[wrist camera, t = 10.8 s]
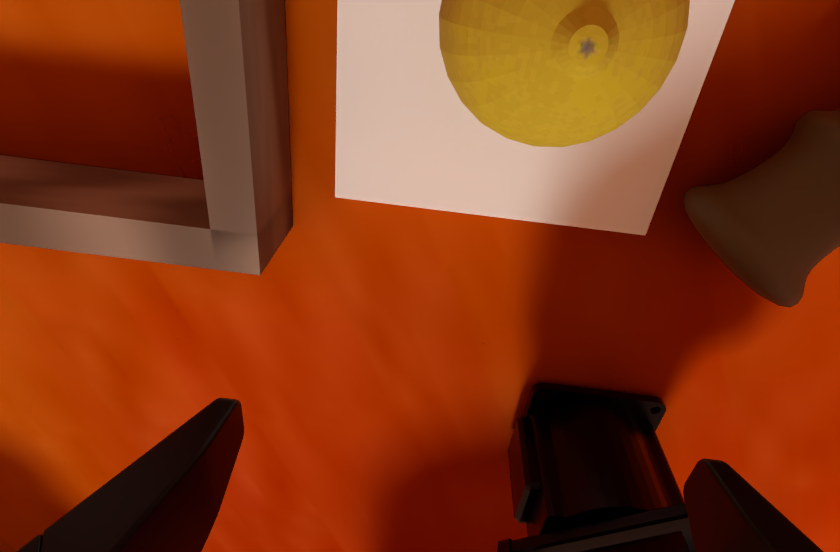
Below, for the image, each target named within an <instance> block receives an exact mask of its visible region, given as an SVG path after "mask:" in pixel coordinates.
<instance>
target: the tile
mask: <svg viewBox="0 0 840 552" xmlns="http://www.w3.org/2000/svg"><path fill="white" fill-rule="evenodd" d="M441 1H442V0H338V5H337V83H336V162H335V197H338V198H346V199H354V200H362V201H370V202H378V203H386V204H394V205H402V206H411V207H419V208H427V209H435V210H443V211H451V212H459V213H467V214H475V215H483V216H492V217H500V218H508V219H516V220H524V221H532V222H540V223H548V224H556V225H564V226H573V227H581V228H589V229H597V230H605V231H613V232H621V233H629V234H637V235H646V233H647V230H648V227H649V225H650V222H651V220H652V217H653V214H654V212H655V209H656V206H657V204H658V201H659V199H660V196H661V193H662V191H663V188H664V185H665V183H666V180H667V178H668V175H669V172H670V170H671V167H672V164H673V162H674V159H675V157H676V154H677V151H678V149H679V146H680V143H681V141H682V138H683V136H684V133H685V130H686V128H687V125H688V122H689V120H690V117H691V115H692V112H693V109H694V107H695V104H696V101H697V99H698V96H699V94H700V91H701V88H702V86H703V83H704V80H705V78H706V75H707V72H708V70H709V67H710V65H711V62H712V59H713V57H714V54H715V51H716V49H717V46H718V44H719V41H720V38H721V36H722V33H723V30H724V28H725V25H726V23H727V20H728V17H729V15H730V12H731V9H732V7H733V4H734V2H735V0H690V5H689V16H688V28H687V31H686V34H685V37H684V40H683V43H682V46H681V49H680V52H679V55H678V58H677V61H676V62H675V64H674V66H673V68H672V69H671V71H670V73H669V74H668V76H667V78H666V80H665V81H664V83H663V85H662V87H661V88H660V89H659V91H658V92H657V93H656V94H655V95H654V96H653V97H652V98H651V100H650V101H649V102H648V103H647V104H646V105H645V106H644V107H643V109H642V110H641V111H640V112H639V113H637V114H636V115H635V116H633V117H632V118H630V119H629V120H628V121H626V122H625V123H624V124H622V125H621V126H620V127H618V128H617V129H616V130H614V131H611V132H609V133H607V134H605V135H603V136H600V137H598V138H596V139H594V140H592V141H590V142H585V143H580V144H576V145H571V146H566V147H540V146H531V145H527V144H524V143H521V142H517V141H514V140H510V139H507V138H505V137H503V136H502V135H500V134H498V133H497V132H495V131H493V130H492V129H490V128H488V127H487V126H485V125H483V124H482V123H481V122H480V121H479V120H478V119H477V118H476V117H475V116H474V115H473V114H472V113H471V112H470V111H469V109H468V108H467V107H466V106H465V105H464V104H463V103H462V102H461V100H460V98H459V96H458V95H457V93H456V91H455V89H454V87H453V85H452V84H451V82H450V80H449V78H448V76H447V72H446V69H445V65H444V61H443V58H442V54H441V50H440V42H439V11H440V6H441Z"/></svg>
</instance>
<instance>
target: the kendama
mask: <svg viewBox="0 0 840 552" xmlns="http://www.w3.org/2000/svg"><path fill="white" fill-rule="evenodd" d="M683 204H684V207H685V210H686V213H687V216H688V217H689V219H690V220H691V222H692V223H693V225H694V227H695V228H696V230H697V231H698V232H699V234H700V235H701V237H702V238H703V240H704V241H705V242H706V243H707V245H708V246H709V247H710V248H711V249H712V250H713V251H714V252H715V254H716V255H717V256H718V257H719V258H720V259H721V260H722V261H723V262H724V264H725V265H726V266H727V267H728V268H729V269H730V270H731V271H732V272H733V273H734V274H735V275H736V276H737V277H738V278H740V279H741V280H742V281H743V282H744V283H745V284H746V285H747V286H749V287H750V288H751V289H752V290H754V291H755V292H756V293H758V294H759V295H760V296H762V297H764V298H765V299H767V300H769V301H771V302H773V303H775V304H777V305H779V306H785V307H792V306H794V305H796V304H798V302H799V301H800V299H801V298H802V296H803V292H804V286H805V281H806V278H807V276H808V274H809V273H810V271H811V269H812V268H813V267H814V266H815V265H816V264H817V263H818V262H820V261H821V260H822V259H823V258H824V257H825V256H827V255H828V254H829V253H831V252H832V251H833V250H834V249H836V248H837V247H839V246H840V110H834V111H821V110H812V111H808V112H807V113H805V114H804V115H802V116H801V117H800V118H799V119H798V120H797V121H796V123H795V126H794V129H793V132H792V135H791V137H790V138H789V140H788V142H787V143H786V144H785V145H784V146H783V147H782V148H781V149H780V150H779V151H778V152H776V153H775V154H774V155H772V156H771V157H770V158H768V159H767V160H765V161H764V162H762V163H761V164H759V165H758V166H756V167H755V168H753V169H751V170H749V171H748V172H746V173H744V174H742V175H740V176H738V177H736V178H734V179H732V180H730V181H727V182H724V183H721V184H717V185H701V186H695V187H692V188H690V189H689V190H688V191H687V192H685V194H684V202H683Z"/></svg>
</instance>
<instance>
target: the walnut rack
mask: <svg viewBox="0 0 840 552" xmlns="http://www.w3.org/2000/svg"><path fill="white" fill-rule="evenodd" d="M180 6H181V13H182V21H183V28H184V36H185V43H186V51H187V58H188V66H189V73H190V81H191V88H192V96H193V103H194V111H195V118H196V126H197V133H198V141H199V148H200V156H201V163H202V171H203V178H204V180H200V179H191V178H183V177H175V176H167V175H159V174H151V173H143V172H135V171H127V170H119V169H110V168H102V167H94V166H86V165H78V164H70V163H62V162H54V161H46V160H38V159H29V158H21V157H13V156H5V155H0V243H7V244H15V245H23V246H31V247H39V248H47V249H55V250H63V251H71V252H79V253H87V254H95V255H103V256H111V257H119V258H128V259H136V260H144V261H152V262H160V263H168V264H176V265H184V266H192V267H200V268H208V269H216V270H224V271H232V272H240V273H248V274H256V275H261V273H262V272H263V270H264V269H265V267H266V266H267V264H268V263H269V261H270V260H271V258H272V257H273V255H274V254H275V252H276V251H277V249H278V248H279V246H280V245H281V243H282V242H283V240H284V239H285V237H286V236H287V234H288V233H289V231H290V230H291V228H292V227H293V218H292V190H291V163H290V135H289V108H288V80H287V53H286V25H285V0H180Z"/></svg>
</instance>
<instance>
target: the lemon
mask: <svg viewBox="0 0 840 552" xmlns="http://www.w3.org/2000/svg"><path fill="white" fill-rule="evenodd" d="M689 5H690V0H442V1H441V6H440V11H439V42H440V50H441V54H442V58H443V61H444V65H445V69H446V72H447V76H448V78H449V80H450V82H451V84H452V85H453V87H454V89H455V91H456V93H457V95H458V96H459V98H460V100H461V102H462V103H463V104H464V105H465V106H466V107H467V108H468V109H469V111H470V112H471V113H472V114H473V115H474V116H475V117H476V118H477V119H478V120H479V121H480V122H481V123H482V124H483V125H485V126H487V127H488V128H490V129H492V130H493V131H495V132H497V133H498V134H500V135H502V136H503V137H505V138H507V139H510V140H514V141H517V142H521V143H524V144H527V145H531V146H540V147H566V146H571V145H576V144H580V143H585V142H590V141H592V140H594V139H596V138H598V137H600V136H603V135H605V134H607V133H609V132H611V131H614V130H616V129H617V128H618V127H620V126H621V125H622V124H624V123H625V122H626V121H628V120H629V119H630V118H632V117H633V116H635V115H636V114H637V113H639V112H640V111H641V110H642V109H643V107H644V106H645V105H646V104H647V103H648V102H649V101H650V100H651V98H652V97H653V96H654V95H655V94H656V93H657V92H658V91H659V89H660V88H661V87H662V85H663V83H664V81H665V80H666V78H667V76H668V74H669V73H670V71H671V69H672V68H673V66H674V64H675V62H676V61H677V58H678V55H679V52H680V49H681V46H682V43H683V40H684V37H685V34H686V31H687V28H688V16H689Z"/></svg>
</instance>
